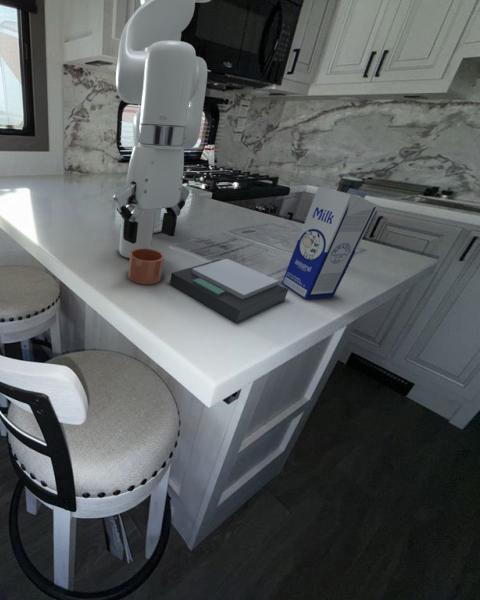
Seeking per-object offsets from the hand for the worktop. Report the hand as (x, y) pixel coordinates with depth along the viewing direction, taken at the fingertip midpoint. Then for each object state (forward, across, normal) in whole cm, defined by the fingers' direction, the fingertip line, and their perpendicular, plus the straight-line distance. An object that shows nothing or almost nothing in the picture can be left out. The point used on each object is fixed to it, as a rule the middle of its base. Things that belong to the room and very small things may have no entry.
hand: (149, 237), depth 59 cm
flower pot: (+9, 0, 0) cm, 9 cm away
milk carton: (+9, -26, +20) cm, 35 cm away
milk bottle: (+9, -6, -12) cm, 16 cm away
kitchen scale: (+9, -10, +12) cm, 18 cm away
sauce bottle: (+9, -44, +14) cm, 47 cm away
